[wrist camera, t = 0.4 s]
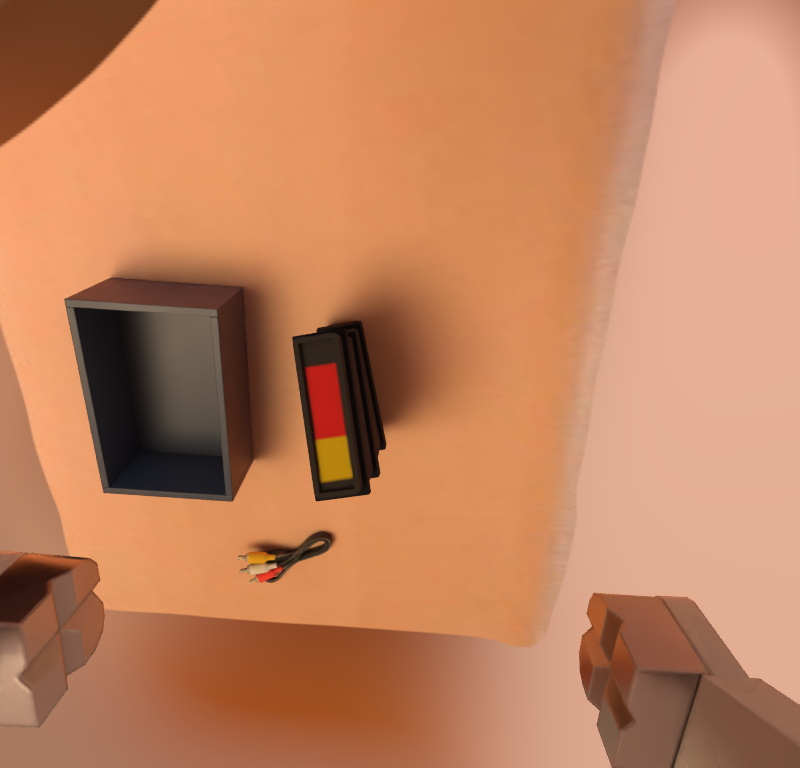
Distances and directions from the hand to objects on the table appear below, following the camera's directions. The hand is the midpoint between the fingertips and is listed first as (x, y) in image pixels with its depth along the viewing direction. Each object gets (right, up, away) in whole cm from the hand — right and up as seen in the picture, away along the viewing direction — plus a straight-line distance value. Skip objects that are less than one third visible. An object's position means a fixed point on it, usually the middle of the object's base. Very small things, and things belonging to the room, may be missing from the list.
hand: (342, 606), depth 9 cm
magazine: (-3, +5, +39) cm, 40 cm away
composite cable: (-11, -14, +48) cm, 52 cm away
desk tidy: (-18, +4, +40) cm, 44 cm away
